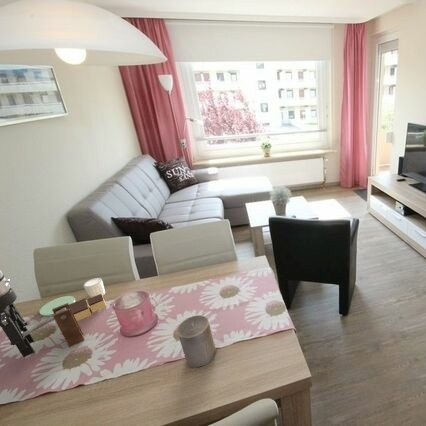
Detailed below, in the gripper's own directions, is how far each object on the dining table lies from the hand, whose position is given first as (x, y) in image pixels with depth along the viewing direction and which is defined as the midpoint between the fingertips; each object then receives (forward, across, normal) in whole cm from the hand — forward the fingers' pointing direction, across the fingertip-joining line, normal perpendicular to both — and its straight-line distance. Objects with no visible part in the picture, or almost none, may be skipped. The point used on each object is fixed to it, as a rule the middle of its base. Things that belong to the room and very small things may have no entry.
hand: (29, 348), depth 99 cm
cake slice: (+6, +16, -20) cm, 27 cm away
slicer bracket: (+6, 0, -11) cm, 13 cm away
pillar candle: (+7, -39, -42) cm, 58 cm away
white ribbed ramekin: (+6, +28, -21) cm, 36 cm away
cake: (+6, +16, -13) cm, 22 cm away
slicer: (-6, 0, -6) cm, 8 cm away
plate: (+6, +31, -7) cm, 32 cm away
